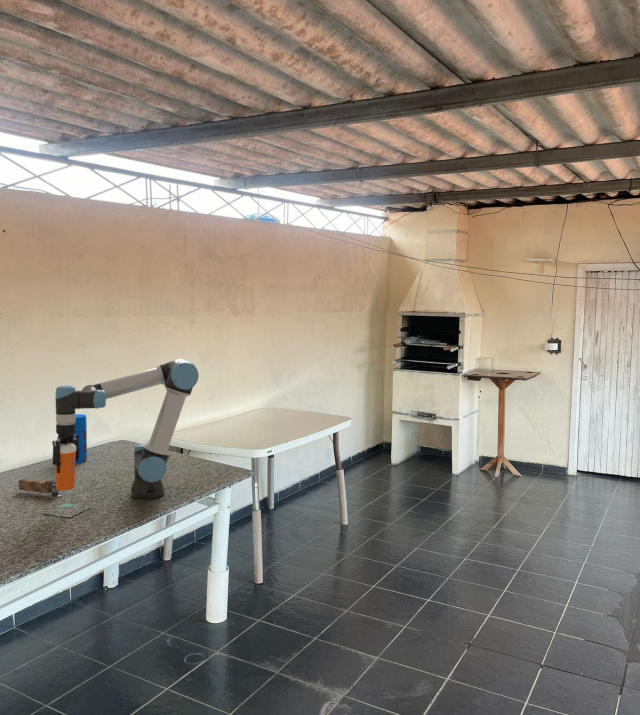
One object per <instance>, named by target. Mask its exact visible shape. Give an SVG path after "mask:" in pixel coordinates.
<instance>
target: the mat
mask: <svg viewBox="0 0 640 715" xmlns="http://www.w3.org/2000/svg"><path fill="white" fill-rule="evenodd" d="M73 505H74V506H75V505H76V504H73V503H62V504H61V505H59V506H55V508H57V507H69V506H70V507H71V506H73ZM78 505H79V506H81V505H80V504H78ZM84 506H85V505H84ZM85 507H86V506H85Z"/></svg>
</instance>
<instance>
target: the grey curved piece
mask: <svg viewBox="0 0 640 715" xmlns="http://www.w3.org/2000/svg"><path fill="white" fill-rule="evenodd" d="M59 491H60V490H57V489H56V484H52V486H51V493H49V494H48V495H47V498H48V499H50V498H51V500H53V499H54V498H57V499H59V498H60V497H61V498H62V497H63V493H60V492H59Z"/></svg>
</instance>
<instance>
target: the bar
mask: <svg viewBox="0 0 640 715" xmlns="http://www.w3.org/2000/svg"><path fill="white" fill-rule="evenodd" d="M52 485H56V479H53V478H52V479H51V480H50V479H48V480H45V481H44V480H36V479H30V478H29V479H28V478H20V479H18V491H24V492H25V491H26V492H33V493H41V494H48V495H50V494H52V493H51V486H52Z"/></svg>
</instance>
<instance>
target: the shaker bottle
mask: <svg viewBox="0 0 640 715" xmlns="http://www.w3.org/2000/svg"><path fill="white" fill-rule="evenodd" d="M69 442H70V441H69ZM60 443H61V442H60ZM65 443H68V442H64V443H61V444H60V463H61V465H60V473H57V466H56V465H54V476H55V477H54V478H55V479H56V484H55V485H56V489H57V490H59V491H60V492H61V491H63V492H65V491H71V490H74V488H75V485H76V484H75V481H76V467H75V456H76V446H75V445H74V444H73V443H68V444H66V445H65ZM58 470H59V469H58ZM58 472H59V471H58Z"/></svg>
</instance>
